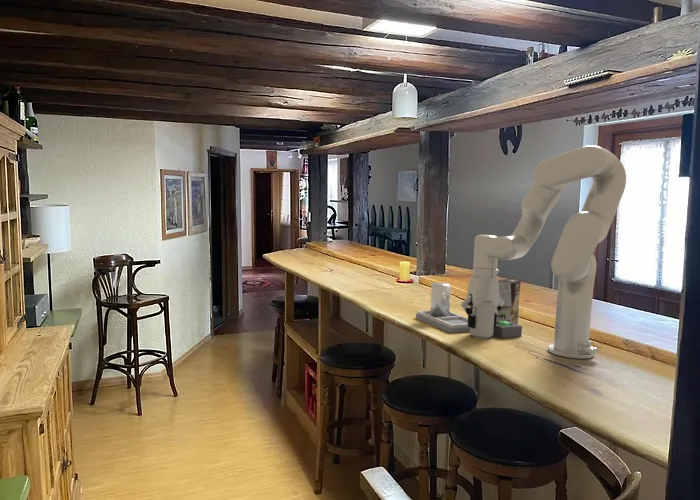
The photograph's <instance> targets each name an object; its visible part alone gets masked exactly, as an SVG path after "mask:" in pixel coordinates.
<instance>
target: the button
mask: <svg viewBox="0 0 700 500" xmlns="http://www.w3.org/2000/svg"><path fill="white" fill-rule="evenodd" d="M499 325H502V326H510V322H507V321H499Z"/></svg>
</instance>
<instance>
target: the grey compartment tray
mask: <svg viewBox="0 0 700 500" xmlns="http://www.w3.org/2000/svg"><path fill="white" fill-rule="evenodd" d="M430 312H431V309H430V310H418V311H416V314H415V319H417V320H419V321H421V322H423V323H424V322H425V323H426V324H429V325H431V326H433V327H436V328H438V329H440V330H443V331H445V332H448V333H449V334H458V333H470V327H468V316H467V317H466V316H463V315H461V314H458V313H456V312H453V311H450V310H449V317H433V316H431V315H430Z"/></svg>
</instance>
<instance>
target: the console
mask: <svg viewBox="0 0 700 500" xmlns="http://www.w3.org/2000/svg"><path fill="white" fill-rule="evenodd" d="M507 322H508V321H507ZM522 330H523V326H522V325H519V324H518V323H517V324H514V323H511V322H510V326H502V325H499V321H496V326H495V327H494V329H493V336H495V337H497V336H498V337H497V338H500V339H507V338H509V337H511V338H519V337H520V336H521V337H522V333H523V332H522Z"/></svg>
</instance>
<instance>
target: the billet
mask: <svg viewBox="0 0 700 500" xmlns="http://www.w3.org/2000/svg"><path fill="white" fill-rule="evenodd" d="M451 287H452V284H451V283H448V282H441V281H439V282H432V283H431V293H430V295H431V296H430V297H431V298H430V310H431V312H430V315H431V316H433V317H449V311H450V310H451V309H450V308H451V307H450V305H451V290H452V289H451Z"/></svg>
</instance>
